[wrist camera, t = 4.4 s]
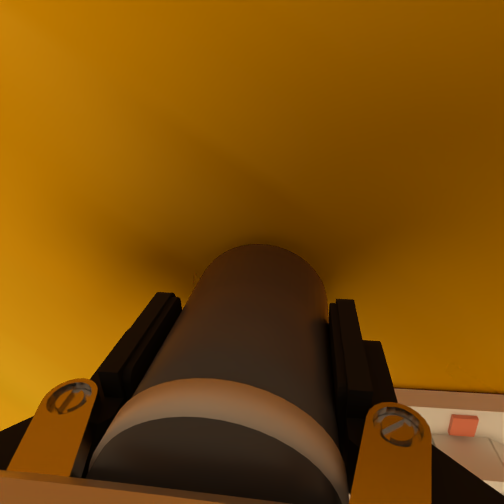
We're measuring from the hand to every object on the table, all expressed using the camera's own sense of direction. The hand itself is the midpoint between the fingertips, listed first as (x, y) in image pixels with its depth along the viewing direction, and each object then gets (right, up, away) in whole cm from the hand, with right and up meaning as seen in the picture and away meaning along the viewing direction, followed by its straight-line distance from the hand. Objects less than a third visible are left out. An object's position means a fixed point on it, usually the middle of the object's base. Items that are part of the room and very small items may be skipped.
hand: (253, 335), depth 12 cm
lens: (0, +1, +2) cm, 2 cm away
